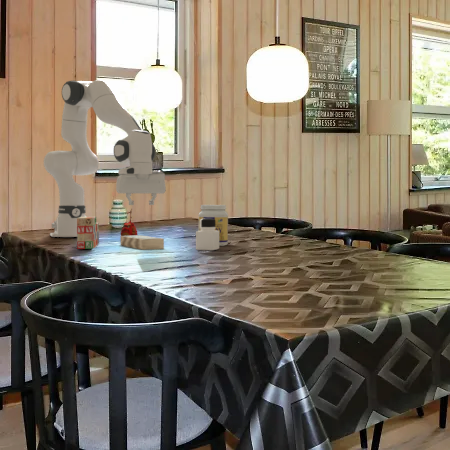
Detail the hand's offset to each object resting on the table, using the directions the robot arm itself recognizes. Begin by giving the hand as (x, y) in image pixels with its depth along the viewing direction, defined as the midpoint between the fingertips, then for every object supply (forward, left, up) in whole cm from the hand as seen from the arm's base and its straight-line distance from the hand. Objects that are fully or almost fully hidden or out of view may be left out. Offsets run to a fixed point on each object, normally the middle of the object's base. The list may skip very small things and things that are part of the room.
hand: (141, 205), depth 262 cm
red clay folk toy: (-23, +4, -17) cm, 29 cm away
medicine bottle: (+23, +18, -17) cm, 34 cm away
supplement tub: (+9, +28, -17) cm, 34 cm away
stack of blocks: (-14, -18, -17) cm, 28 cm away
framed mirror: (0, 0, -17) cm, 17 cm away
